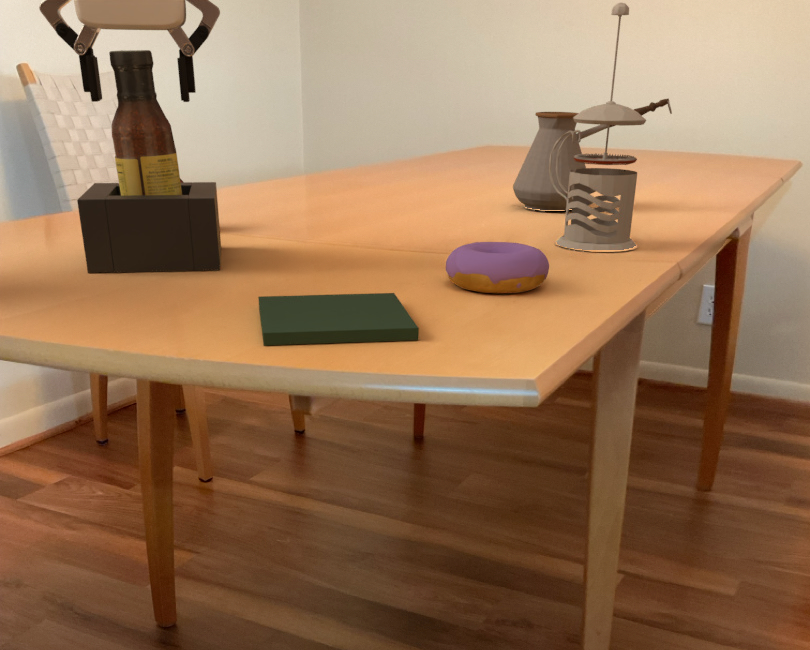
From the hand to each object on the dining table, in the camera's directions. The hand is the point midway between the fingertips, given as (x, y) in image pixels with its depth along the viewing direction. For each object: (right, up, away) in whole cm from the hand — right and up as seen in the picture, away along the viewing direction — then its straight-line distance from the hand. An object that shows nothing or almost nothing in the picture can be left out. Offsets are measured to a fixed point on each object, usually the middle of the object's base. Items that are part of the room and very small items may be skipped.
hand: (141, 100), depth 91 cm
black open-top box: (0, -14, +7) cm, 15 cm away
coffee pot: (+53, +5, +43) cm, 68 cm away
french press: (+48, -9, +18) cm, 53 cm away
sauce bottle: (0, -14, +7) cm, 16 cm away
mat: (+20, -26, -16) cm, 37 cm away
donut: (+35, -19, -2) cm, 40 cm away
